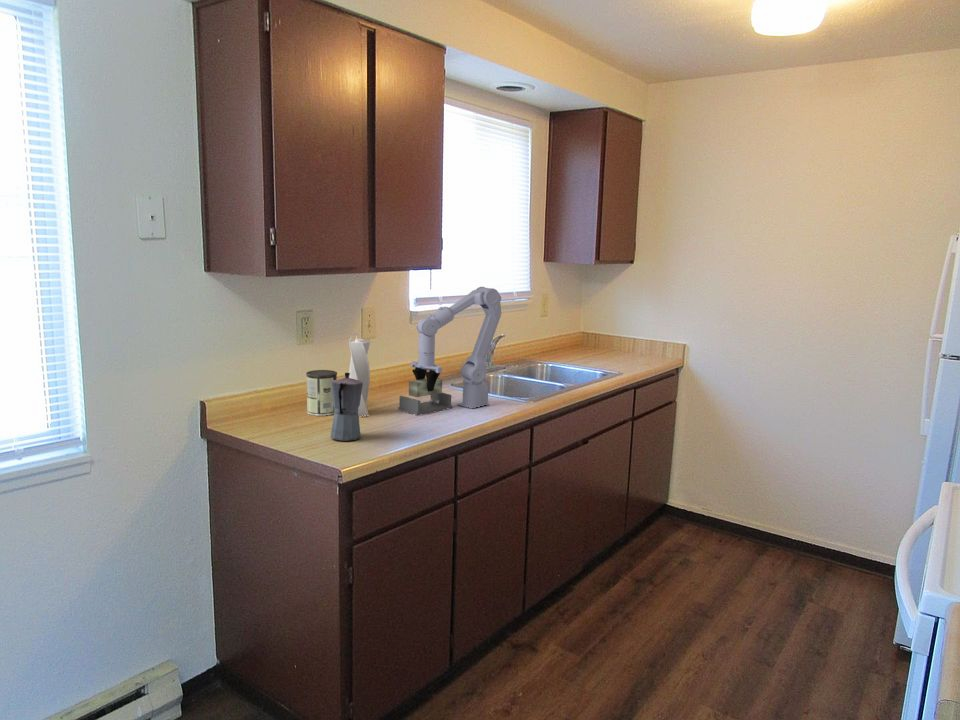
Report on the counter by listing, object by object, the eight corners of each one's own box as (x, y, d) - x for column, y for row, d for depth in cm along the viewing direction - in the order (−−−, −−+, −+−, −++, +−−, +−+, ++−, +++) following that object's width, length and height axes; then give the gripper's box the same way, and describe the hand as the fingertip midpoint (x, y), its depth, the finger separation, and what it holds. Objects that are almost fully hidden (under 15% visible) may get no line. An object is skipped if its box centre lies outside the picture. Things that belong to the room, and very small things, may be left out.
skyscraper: (343, 413, 231) (343, 333, 227) (365, 411, 235) (366, 332, 230) (350, 419, 224) (350, 336, 219) (373, 417, 228) (374, 336, 223)
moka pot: (365, 431, 209) (365, 369, 205) (358, 446, 194) (358, 379, 190) (334, 431, 208) (334, 368, 205) (325, 445, 193) (324, 378, 190)
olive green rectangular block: (433, 390, 245) (433, 377, 244) (441, 392, 242) (442, 379, 241) (408, 395, 236) (408, 381, 235) (417, 397, 233) (417, 383, 232)
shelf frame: (433, 403, 250) (433, 390, 249) (452, 408, 243) (452, 394, 242) (398, 410, 237) (398, 396, 236) (416, 415, 231) (417, 401, 230)
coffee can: (321, 407, 237) (321, 368, 235) (343, 411, 232) (343, 372, 230) (300, 413, 229) (299, 372, 226) (322, 417, 224) (322, 376, 221)
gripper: (404, 350, 239) (404, 387, 241) (432, 356, 229) (431, 394, 231) (419, 348, 244) (418, 385, 246) (446, 354, 234) (445, 392, 236)
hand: (425, 389), depth 239 cm, fingers closed on olive green rectangular block, 4 cm apart
